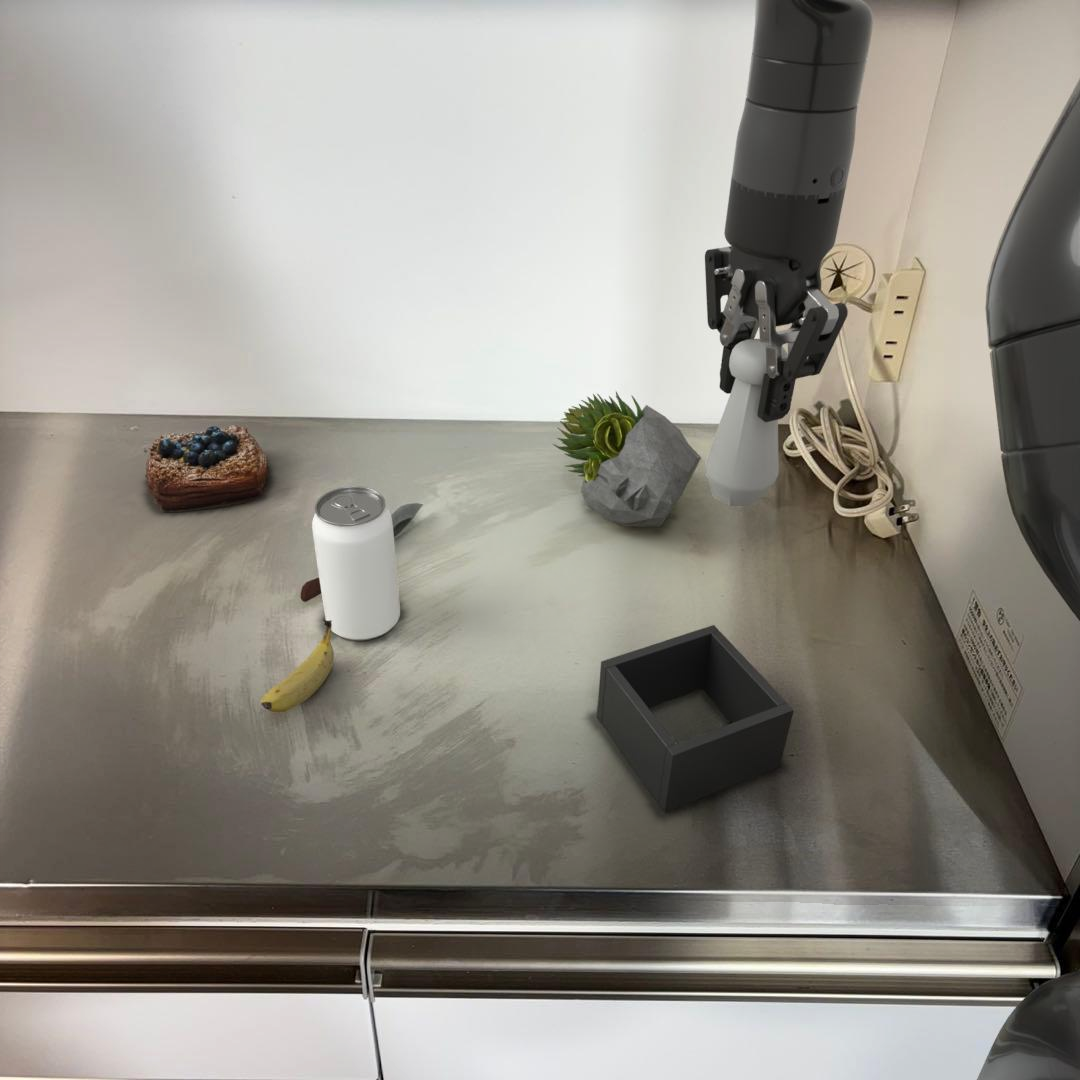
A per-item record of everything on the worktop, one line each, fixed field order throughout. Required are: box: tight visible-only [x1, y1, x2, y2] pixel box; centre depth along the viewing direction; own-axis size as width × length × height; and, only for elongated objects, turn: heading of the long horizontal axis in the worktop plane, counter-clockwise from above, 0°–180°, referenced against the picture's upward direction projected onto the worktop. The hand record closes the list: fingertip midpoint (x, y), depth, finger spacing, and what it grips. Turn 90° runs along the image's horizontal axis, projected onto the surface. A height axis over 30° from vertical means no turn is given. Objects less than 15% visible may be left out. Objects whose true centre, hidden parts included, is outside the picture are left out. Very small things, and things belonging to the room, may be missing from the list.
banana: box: [260, 618, 335, 713], centre depth 76 cm, size 10×2×4 cm, turn 162°
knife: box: [300, 502, 424, 603], centre depth 91 cm, size 18×2×3 cm, turn 151°
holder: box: [596, 624, 795, 814], centre depth 72 cm, size 10×10×6 cm
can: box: [311, 485, 401, 642], centre depth 81 cm, size 6×6×12 cm
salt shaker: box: [704, 338, 788, 508], centre depth 75 cm, size 6×6×13 cm
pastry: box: [145, 424, 269, 513], centre depth 101 cm, size 11×12×6 cm
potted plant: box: [552, 391, 702, 528], centre depth 97 cm, size 12×13×15 cm
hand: (752, 403), depth 74 cm, fingers closed on salt shaker, 4 cm apart
